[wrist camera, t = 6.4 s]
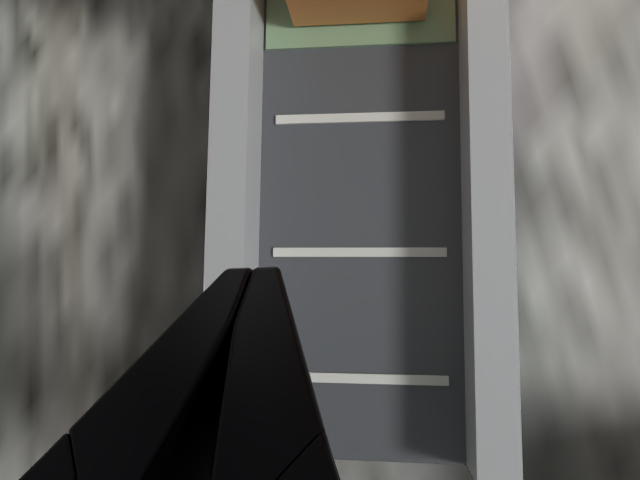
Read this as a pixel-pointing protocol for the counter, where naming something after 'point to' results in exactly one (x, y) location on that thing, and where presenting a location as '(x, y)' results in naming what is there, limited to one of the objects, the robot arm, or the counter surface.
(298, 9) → the fader knob
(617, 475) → the counter surface
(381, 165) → the fader console
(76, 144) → the counter surface
